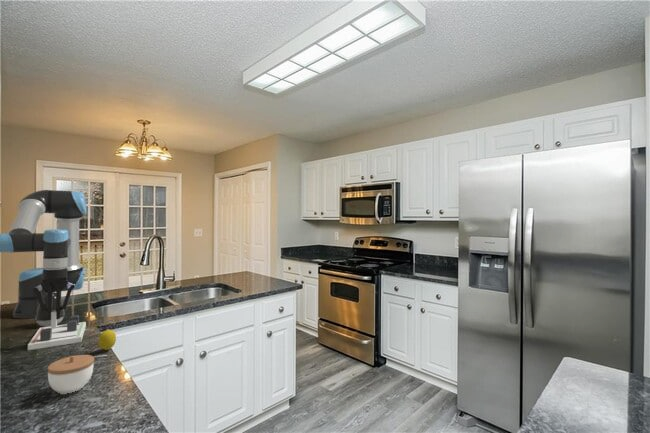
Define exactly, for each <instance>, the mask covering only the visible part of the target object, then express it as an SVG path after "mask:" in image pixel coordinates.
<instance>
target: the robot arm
mask: <svg viewBox="0 0 650 433" xmlns="http://www.w3.org/2000/svg"><path fill="white" fill-rule="evenodd" d="M17 209H18V212H17V214H16V217H15V219H14V221H13V223H12V225H11V227H10V230H9V231H8V232H6V233H0V253H12V254H13V253H27V252H28V253H33V252H42V253H43V257H42V267H36V268H32V269H26V270H24V271H21V272H20V273H19V275H18V276H19V277H18V280H17V282H18V296H17V298H18V300H17V303H16V305H15V308H14V310H13V312H12V317H13V318H14V319H30V318H31V319H32V318H36V312H37V309H38V306H39V304H40V307H41V310H42V311H46V312H47V313H48V320H51V329H55V328H56V327H57V326H58V324H57V319H60V317H61V310H63V309H64V310H65V309H66V308H67V307H68V303H69V301H70V298H71V294H72V292H73V291H78V290H81V289H82V288H83V287H84V281H85V274H86V267H83V264H82V263H80V220H81V219H83V217H84V215H86V214H87V203H86V197H85V194H84V193H83V192H81V191H75V190H74V191H73V190H51V189H43V190H42V189H41V190H38V191H33V192H32V193H29V194H27V195H25V196H24V197H23V198H22V199H21V200H19V203H18V207H17ZM43 214H53V215H54V216H53V217H54V218H55V219H56V220H57V222H58V223H57V225H58V227H57V229H45V230H44V232H43V233H41V232H40V233H35V232H36V229H37V227H38V226H37V225H38V223H39V221H40V218H41V216H42V215H43ZM53 292H55V293H56V310H54V311H52V310H53ZM62 292H66V293H65V294H66V295H65V298H64V300H63V302H62V303H63V306H61V301H62ZM47 293H48V308H47V307H46V304H45V301H44V297H43V296H44V295H45V294H47Z"/></svg>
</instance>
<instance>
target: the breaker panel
mask: <svg viewBox="0 0 650 433" xmlns="http://www.w3.org/2000/svg"><path fill="white" fill-rule="evenodd" d="M49 328H51V326H50V327H43V326H41V327H39V328H38V330H37V332H36V333H35V334H34V336H33V337H32V338H31V339H30V341H29V342H28V344H27V351H32V350H38V349H44V348H45V349H46V348H49V347H50V348H51V347H57V346H63V345H64V346H65V345H69V344H70V345H71V344H77V343H81V342H82V340H83V338H84V337H83V336H84V334H85V330H86V328H87V322H86V321H82V322H79V324H78V325H77V329H76V330H73V331H67V323H66V324H60V325H59V324H57V327H56V328H55V329H52V337H51V339H50V340H43V341H40V332H41V330H42V329H49Z"/></svg>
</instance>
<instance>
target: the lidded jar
mask: <svg viewBox="0 0 650 433" xmlns="http://www.w3.org/2000/svg"><path fill="white" fill-rule="evenodd" d="M94 364H95V357H94V356H93V355H90V354H78V355H71V356H67V357H63V358H61V359H58V360H55V361H54V362H52V363H51V364H49V365H48V367H47V378H48V380H47V381H48V383H49V386H50V388H51V389H52V390H53V391H55V392H56V393H58V394H59V393H60V394H59V395H68V394H67V393H69V394H73V393H75V391H76V392H78V391H81V390H82V389H83V388H84V387H85V386H86V384H88V382H89V381H90V380H91V377H92V375H93V372H94V367H95V366H94ZM81 388H82V389H81ZM72 392H73V393H72Z"/></svg>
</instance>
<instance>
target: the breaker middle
mask: <svg viewBox="0 0 650 433" xmlns="http://www.w3.org/2000/svg"><path fill="white" fill-rule="evenodd" d="M66 324H67V331H73V330H76V329H77V320H72V321H70V320H68V321H67V322H66Z"/></svg>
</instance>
